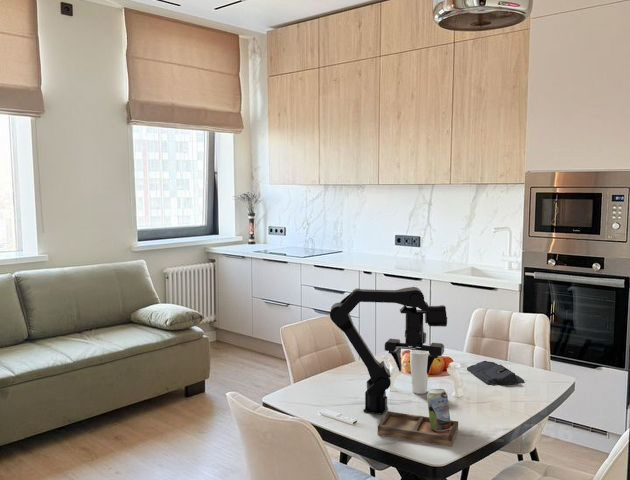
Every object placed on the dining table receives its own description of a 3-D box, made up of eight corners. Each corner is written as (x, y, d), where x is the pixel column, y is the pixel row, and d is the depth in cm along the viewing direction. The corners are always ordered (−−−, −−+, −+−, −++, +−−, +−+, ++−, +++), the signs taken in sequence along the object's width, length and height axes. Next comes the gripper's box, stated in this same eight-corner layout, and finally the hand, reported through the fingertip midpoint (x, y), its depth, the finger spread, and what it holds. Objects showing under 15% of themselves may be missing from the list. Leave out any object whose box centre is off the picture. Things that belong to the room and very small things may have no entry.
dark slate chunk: (497, 366, 238) (498, 355, 237) (527, 385, 216) (527, 372, 216) (463, 369, 235) (463, 358, 235) (489, 388, 213) (489, 375, 213)
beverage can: (445, 436, 169) (446, 396, 167) (422, 429, 173) (423, 391, 172) (454, 428, 174) (455, 390, 172) (432, 422, 178) (432, 385, 177)
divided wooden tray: (377, 434, 174) (377, 425, 173) (388, 419, 185) (388, 411, 184) (451, 446, 165) (451, 437, 165) (458, 430, 176) (458, 421, 176)
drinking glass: (424, 396, 204) (425, 355, 203) (407, 392, 208) (407, 352, 206) (431, 390, 210) (432, 350, 209) (414, 387, 214) (414, 347, 212)
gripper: (447, 322, 193) (446, 368, 194) (392, 318, 200) (392, 362, 201) (441, 330, 182) (440, 378, 184) (384, 326, 190) (384, 372, 191)
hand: (414, 372), depth 190 cm, fingers open, 9 cm apart
